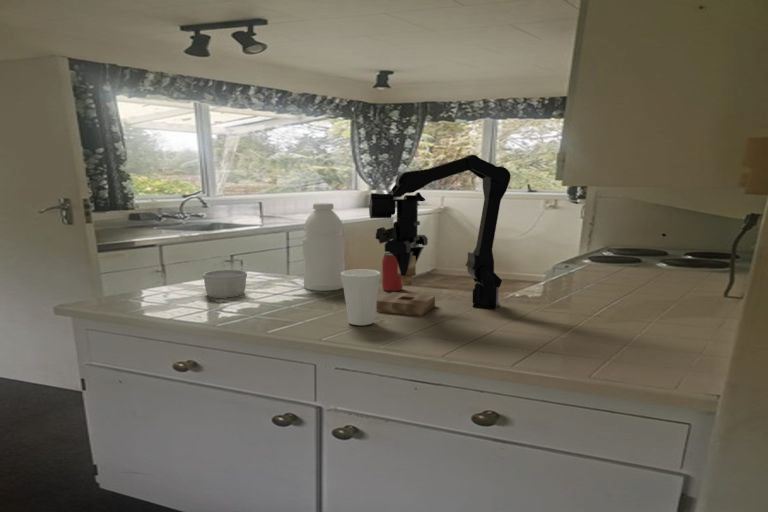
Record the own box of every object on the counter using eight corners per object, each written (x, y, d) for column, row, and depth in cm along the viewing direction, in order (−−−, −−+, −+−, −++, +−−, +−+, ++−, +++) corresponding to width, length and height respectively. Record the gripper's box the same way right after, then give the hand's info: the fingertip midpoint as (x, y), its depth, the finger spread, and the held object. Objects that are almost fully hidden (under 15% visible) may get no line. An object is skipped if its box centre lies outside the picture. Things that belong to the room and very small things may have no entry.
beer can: (402, 292, 170) (402, 255, 168) (382, 291, 170) (382, 255, 169) (402, 287, 177) (402, 252, 175) (382, 287, 177) (382, 252, 175)
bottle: (304, 283, 184) (302, 202, 180) (344, 282, 185) (343, 202, 181) (302, 292, 170) (301, 204, 166) (345, 291, 172) (345, 204, 168)
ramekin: (256, 293, 169) (255, 271, 168) (223, 301, 158) (222, 278, 156) (228, 288, 176) (227, 268, 175) (194, 296, 165) (193, 274, 164)
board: (434, 306, 152) (435, 295, 151) (421, 316, 141) (421, 305, 140) (392, 302, 156) (392, 292, 156) (376, 311, 146) (376, 300, 145)
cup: (343, 318, 139) (342, 269, 137) (381, 318, 138) (381, 269, 137) (339, 328, 129) (338, 276, 127) (380, 329, 129) (380, 276, 127)
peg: (418, 283, 149) (418, 255, 148) (412, 286, 144) (412, 258, 143) (401, 282, 151) (401, 254, 150) (394, 285, 146) (394, 257, 145)
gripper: (392, 214, 156) (392, 266, 159) (366, 219, 139) (366, 277, 142) (428, 215, 152) (427, 269, 154) (405, 220, 135) (405, 280, 137)
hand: (406, 273), depth 147 cm, fingers closed on peg, 5 cm apart
